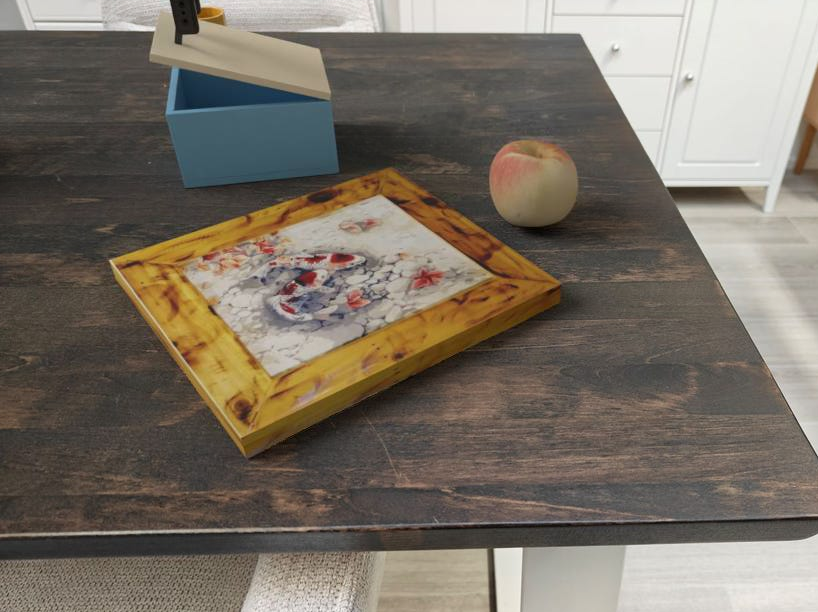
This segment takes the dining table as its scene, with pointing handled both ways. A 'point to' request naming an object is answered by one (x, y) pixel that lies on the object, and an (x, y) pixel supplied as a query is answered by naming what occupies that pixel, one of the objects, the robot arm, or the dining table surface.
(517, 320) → the picture frame
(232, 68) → the cooler lid
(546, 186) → the apple
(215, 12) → the cup
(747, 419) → the dining table surface
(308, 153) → the box
